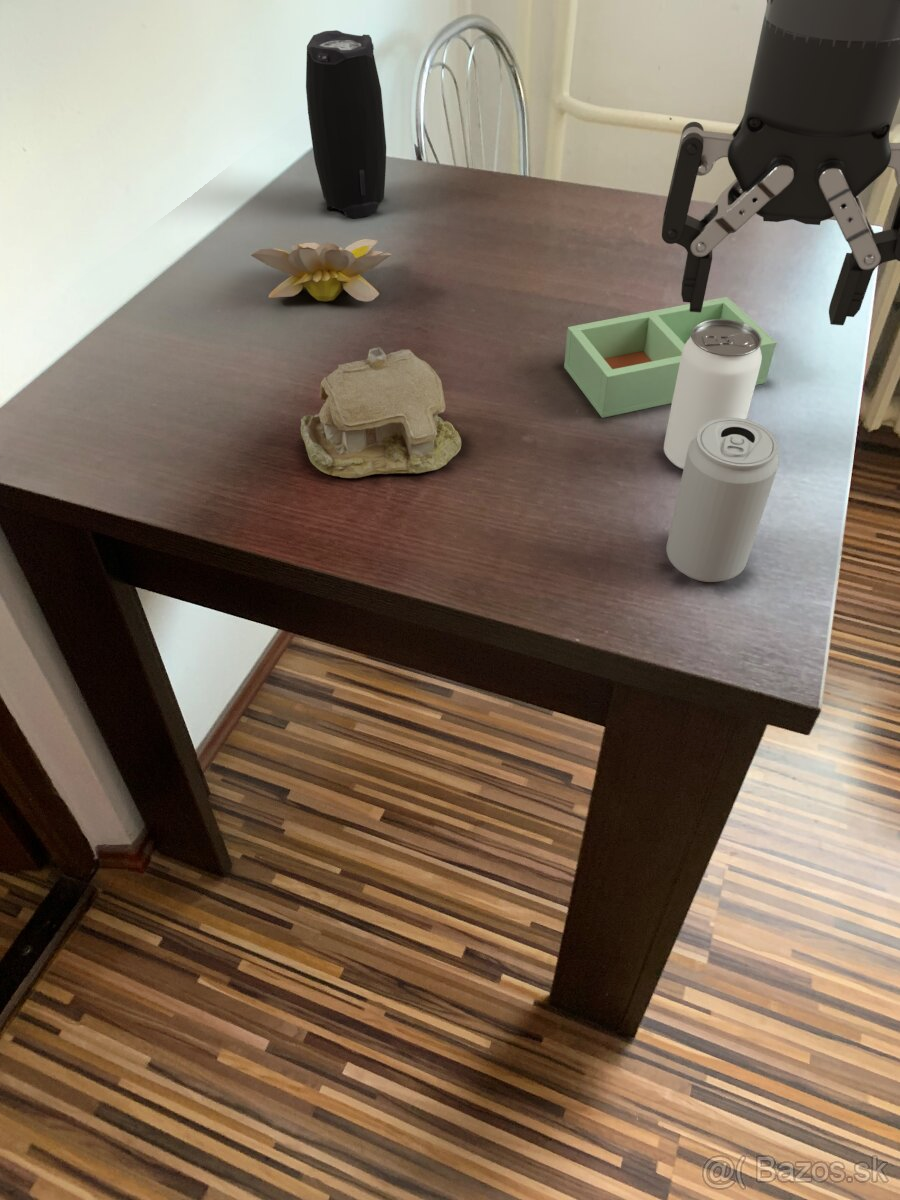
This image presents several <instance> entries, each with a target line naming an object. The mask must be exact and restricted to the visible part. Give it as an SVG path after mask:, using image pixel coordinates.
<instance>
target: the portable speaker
mask: <svg viewBox="0 0 900 1200" xmlns="http://www.w3.org/2000/svg"><path fill="white" fill-rule="evenodd" d="M374 50H375V45H374V43H373V40H372V37H371V35H370V34H362V35H360V34H359V35H357V34H351V33H346V32H342V31H341V30H337V29H335V30H325V31H321V32H318V33H316V34H313V35H312V37H311V38H310V40H309V41H308V43H307V45H306V66H305V67H306V68H305V93H306V104H307V115H308V122H309V123H308V124H309V129H310V137H311V143H312V144H311V146H312V151H313V152H312V153H313V158H314V159H313V160H314V164H315V168H316V172H317V176H318V180H319V181H318V182H319V185H320V189H321V192H322V196H323V199H324V201H325V205H326V206H325V207H326V211H332V210H333V209H335V210H338V211H340V212H343V213H344V214H345V216H346V217H347V218H351V219H359V218H364V217H369V216H371V215H374V214H376V213H377V210H378V208H379V206H380V204H381V203H382V202H383V200H384V199H385V188H386V187H385V186H386V169H387V138H386V128H385V127H386V126H385V116H384V105H383V93H382V87H381V82H380V77H379V72H378V68H377V64H376V63H377V62H376V59H375V54H374V53H375V52H374Z"/></svg>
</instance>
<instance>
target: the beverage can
mask: <svg viewBox="0 0 900 1200" xmlns="http://www.w3.org/2000/svg"><path fill="white" fill-rule="evenodd" d="M778 449H779V444H778V440H777V438H776V436H775V435H774V434H773V433H772V431H770V430H769V429H768V428H766V427H765V426H763V425H761V424H759V423H757V422H755V421H752V420H748V419H746V420H745V419H740V418H720V419H715V420H712V421H709V422H707V423H706V424H704V425H703V426H702V427H701V428H700V429H699V430H698V433H697V436H696V437H695V438H694V439H693V440H692V441H691V443H690V445H689V448H688V452H687V456H686V461H685V465H684V470H683V471H682V475H681V478H680V484H679V489H678V492H677V497H676V501H675V506H674V511H673V515H672V519H671V523H670V529H669V533H668V536H667V537H668V538H667V541H666V556H667V558H668V560H669V562H670V563H671V564H672V566H673V567H675V569H676V570H678V571H679V572H680V573H681V574H683V575H685V576H687V577H688V578H690V579H692V580H695V581H699V582H701V583H702V582H704V583H718V582H724V581H728V580H731V579H733V578H735V577H737V576H739V575H740V574H741V573H742V572H743V571H744V569H745V568H746V566H747V565H748V561H749V557H750V554H751V552H752V548H753V545H754V542H755V539H756V536H757V533H758V530H759V528H760V523H761V520H762V518H763V514H764V512H765V509H766V505H767V502H768V499H769V496H770V494H771V493H770V492H771V489H772V487H773V484H774V480H775V477H776V475H777V472H778V467H779V465H780V459H779V455H778Z"/></svg>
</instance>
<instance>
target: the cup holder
mask: <svg viewBox="0 0 900 1200" xmlns="http://www.w3.org/2000/svg"><path fill="white" fill-rule="evenodd" d="M713 319H728V320H734V321H738V322H742V323H744V324H747V325H749V326H751V327H752V328H754V329H755V330H756V331H757V332H758V333H759V335H760V336H761V345H760V350H761V354H762V360H761V365H760V369H759V373H758V377H757V381H756V385H755V386H758V385H763V384H766V381H767V377H768V375H769V371H770V367H771V363H772V360H773V356H774V353H775V349H776V346H777V341H776V340H775V339H773V337H771V336H770V335H769V334H768V333H767V332H766V331H765V330H764V329H763V328H762V327H761V326H759V325H758V324H757V323H756V322H755V321H754V320H753V319H752V318H751V317H750V316H749V315H748V314H746V313H745V311H743V310H742V309H741V308H740V307H739V306H738V305H737V304H735V303H734V302H733V301H732V300H731V299H730V298H729V297H728V296H724V297H718V298H714V299H707V300H704V301H703V306H702V310H701V313H699V312H690V303H686V304H682V305H676V306H671V307H666V308H665V307H664V308H660V309H656V310H655V309H654V310H651V311H645V312H639V313H634V314H629V315H623V316H619V317H613V318H608V319H603V320H597V321H591V322H587V323H586V322H585V323H581V324H577V325H572V326H571V325H570V326H568V327H567V329H566V330H567V331H566V342H565V352H564V353H565V355H564V364H563V368H564V369H565V371H566V372H567V373H568V375H569V376H570V378H571V379H572V380H573V382H574V383H575V384H576V385H577V386H578V388H579V389H580V390H581V392H582V393H583V394H584V396H585V397H586V399H587V400H588V401H589V402H590V404H591V405H592V406H593V408H594V409H595V411H596V412H597V414H599V416H600V417H601V418H602V419H603V418H608V417H613V416H618V415H622V414H628V413H632V412H637V411H642V410H646V409H651V408H655V407H660V406H664V405H665V406H666V405H670V404H672V400H673V395H674V390H675V385H676V380H677V375H678V370H679V365H680V360H681V355H682V351H683V347H684V345H685V343H686V342H687V340H688V339H689V338H690V337H691V331H692V329H693V328H694V327H695V326H696V325H697V324H699V323H701V322H704V321H707V320H713Z"/></svg>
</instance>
